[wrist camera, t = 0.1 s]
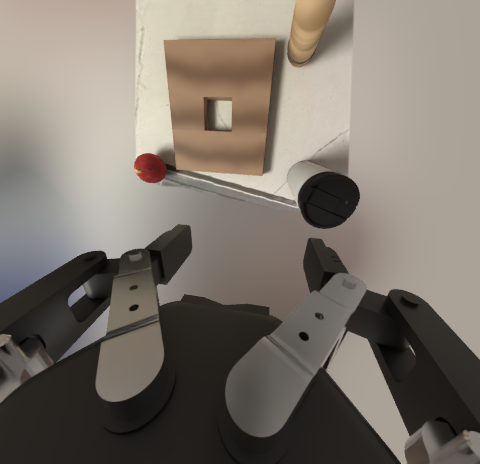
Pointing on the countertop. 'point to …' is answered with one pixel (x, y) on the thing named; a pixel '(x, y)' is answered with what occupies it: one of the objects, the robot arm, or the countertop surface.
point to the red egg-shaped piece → (150, 168)
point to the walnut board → (220, 88)
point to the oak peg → (307, 29)
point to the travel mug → (322, 194)
